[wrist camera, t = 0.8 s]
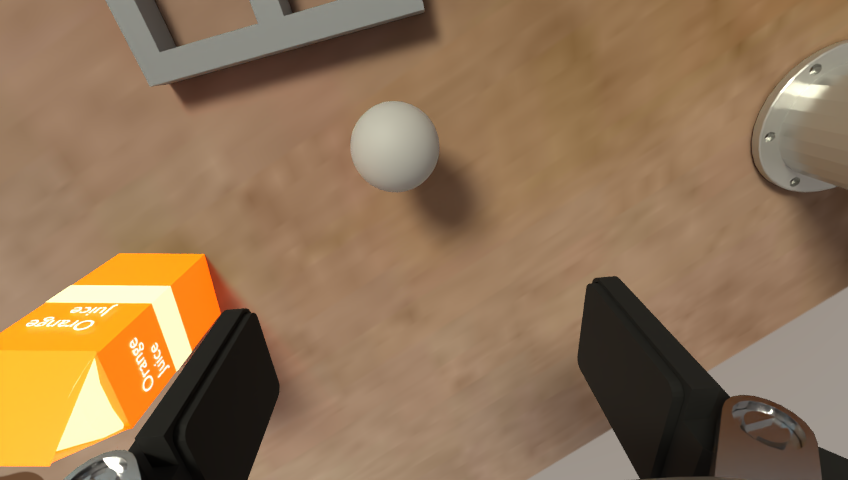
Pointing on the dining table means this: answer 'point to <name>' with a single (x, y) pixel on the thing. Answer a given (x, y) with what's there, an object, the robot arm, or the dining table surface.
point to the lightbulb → (394, 146)
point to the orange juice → (99, 354)
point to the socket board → (245, 33)
